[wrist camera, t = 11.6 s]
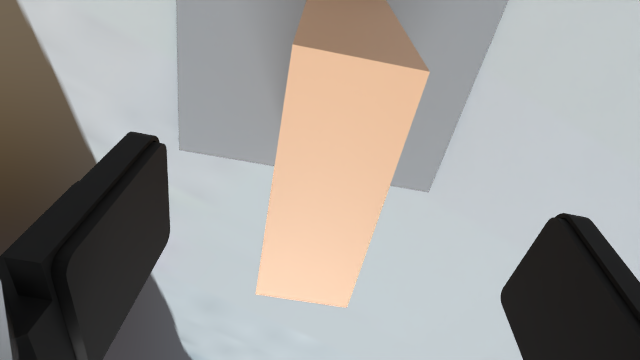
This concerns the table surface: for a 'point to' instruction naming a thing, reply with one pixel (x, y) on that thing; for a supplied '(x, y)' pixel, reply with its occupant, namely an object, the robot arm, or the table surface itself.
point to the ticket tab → (337, 146)
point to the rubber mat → (273, 65)
